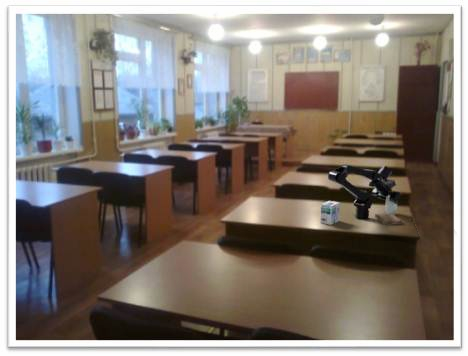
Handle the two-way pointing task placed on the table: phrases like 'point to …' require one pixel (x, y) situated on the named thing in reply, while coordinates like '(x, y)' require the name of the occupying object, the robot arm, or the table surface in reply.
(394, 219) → the walnut base block
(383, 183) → the robot arm
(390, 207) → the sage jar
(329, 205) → the light bulb box
